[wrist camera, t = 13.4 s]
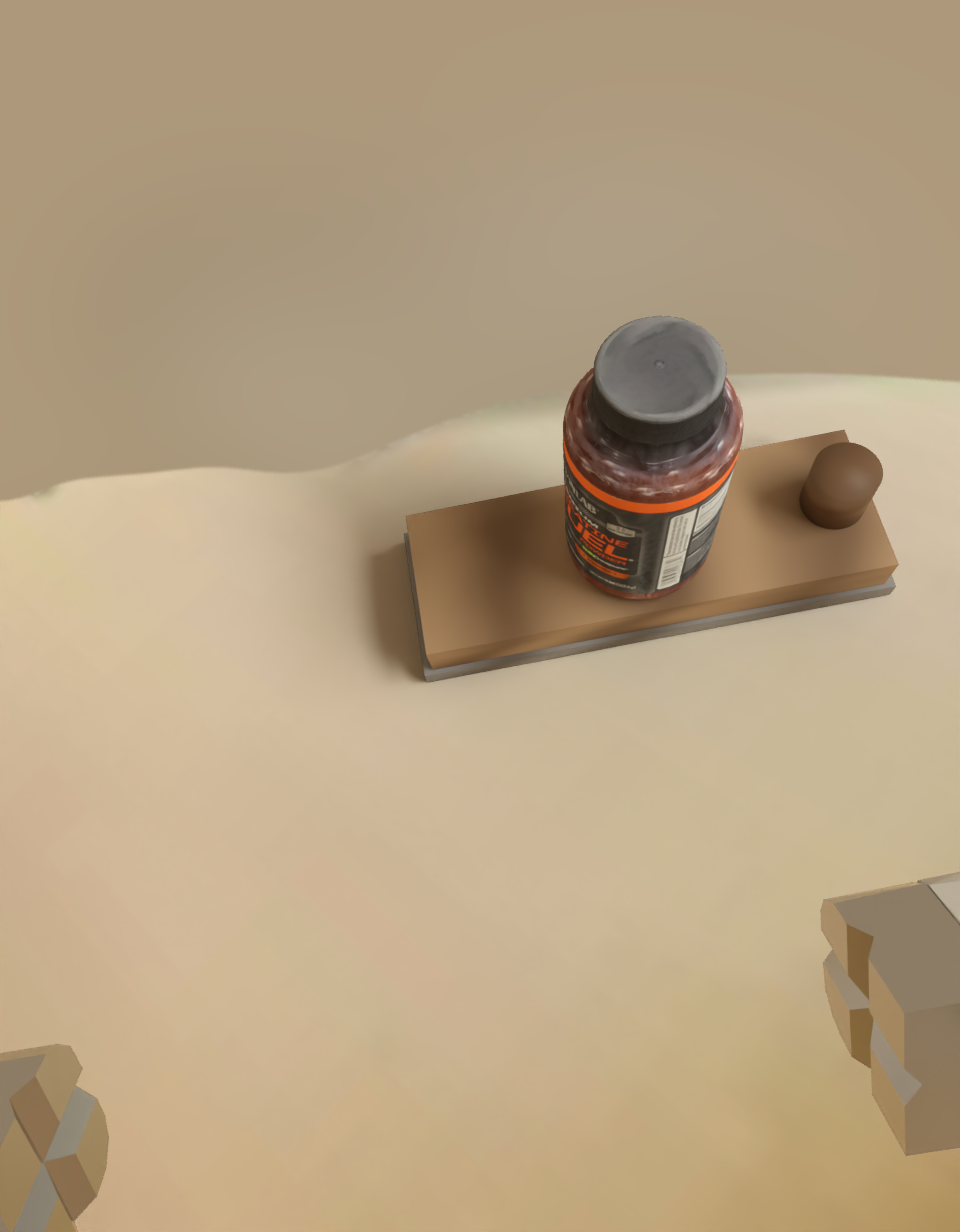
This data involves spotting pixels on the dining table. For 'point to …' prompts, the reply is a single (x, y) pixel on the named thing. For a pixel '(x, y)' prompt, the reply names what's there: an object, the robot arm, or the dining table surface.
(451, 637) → the body
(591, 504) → the supplement bottle
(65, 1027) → the dining table surface
